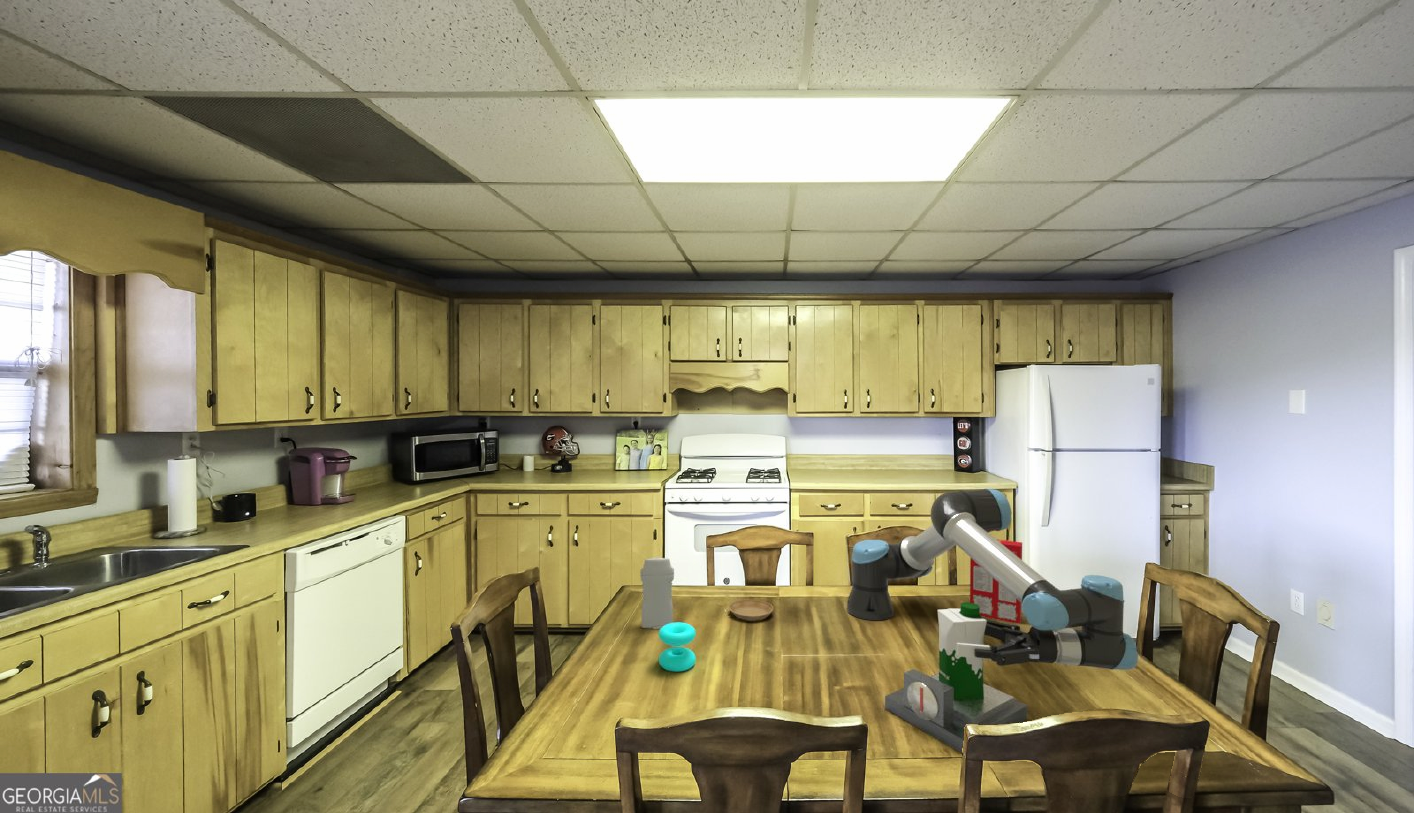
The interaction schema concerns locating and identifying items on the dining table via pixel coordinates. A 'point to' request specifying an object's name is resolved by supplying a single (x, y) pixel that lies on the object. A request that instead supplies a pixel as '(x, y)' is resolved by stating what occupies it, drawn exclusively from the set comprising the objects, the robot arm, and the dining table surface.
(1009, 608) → the food packaging
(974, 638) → the soya milk
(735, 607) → the plant saucer
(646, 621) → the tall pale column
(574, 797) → the dining table surface
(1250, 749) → the dining table surface
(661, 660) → the donuts
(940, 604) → the dining table surface
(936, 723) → the scale
